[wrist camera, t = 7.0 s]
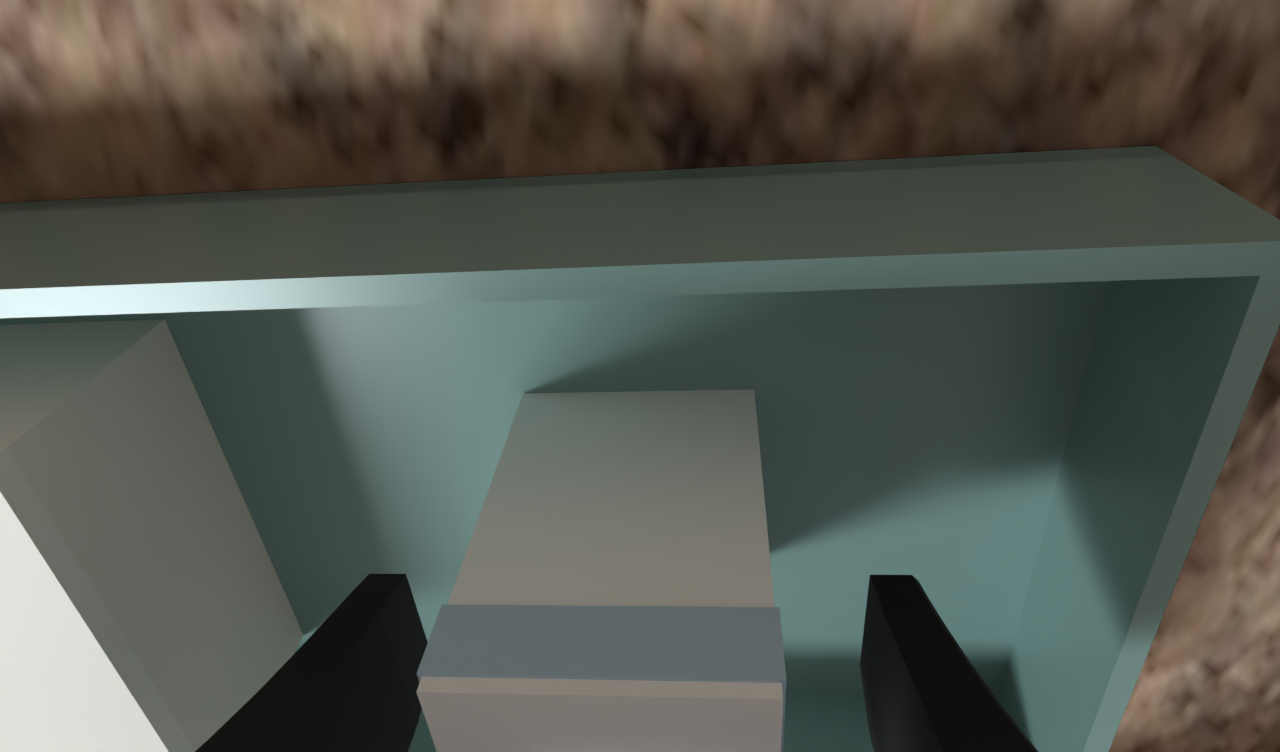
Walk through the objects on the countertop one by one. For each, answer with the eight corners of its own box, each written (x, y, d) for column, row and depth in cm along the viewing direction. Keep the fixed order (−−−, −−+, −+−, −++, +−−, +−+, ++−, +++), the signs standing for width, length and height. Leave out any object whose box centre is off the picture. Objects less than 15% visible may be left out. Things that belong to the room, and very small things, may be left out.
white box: (303, 635, 18) (208, 813, 14) (97, 633, 18) (-43, 804, 15) (164, 319, 14) (-16, 465, 10) (-99, 328, 14) (-357, 470, 11)
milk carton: (754, 562, 16) (778, 892, 10) (549, 561, 16) (476, 879, 11) (757, 387, 13) (788, 696, 8) (520, 391, 14) (410, 688, 9)
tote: (1009, 683, 18) (1070, 845, 15) (81, 670, 20) (-28, 808, 17) (1154, 145, 11) (1313, 240, 8) (-229, 214, 14) (-492, 308, 11)
